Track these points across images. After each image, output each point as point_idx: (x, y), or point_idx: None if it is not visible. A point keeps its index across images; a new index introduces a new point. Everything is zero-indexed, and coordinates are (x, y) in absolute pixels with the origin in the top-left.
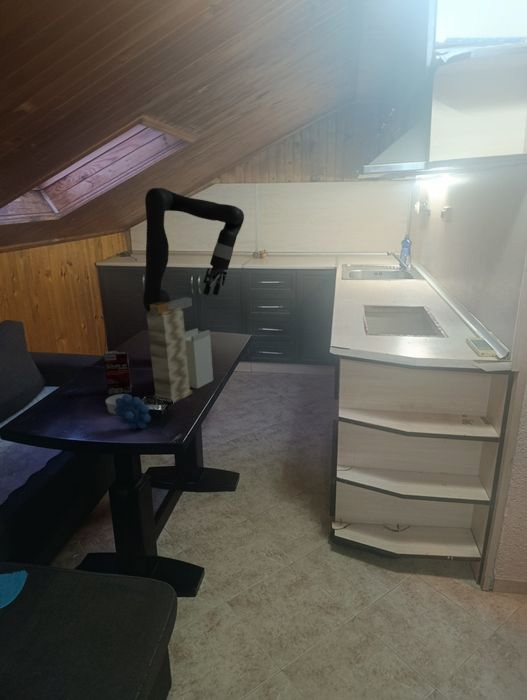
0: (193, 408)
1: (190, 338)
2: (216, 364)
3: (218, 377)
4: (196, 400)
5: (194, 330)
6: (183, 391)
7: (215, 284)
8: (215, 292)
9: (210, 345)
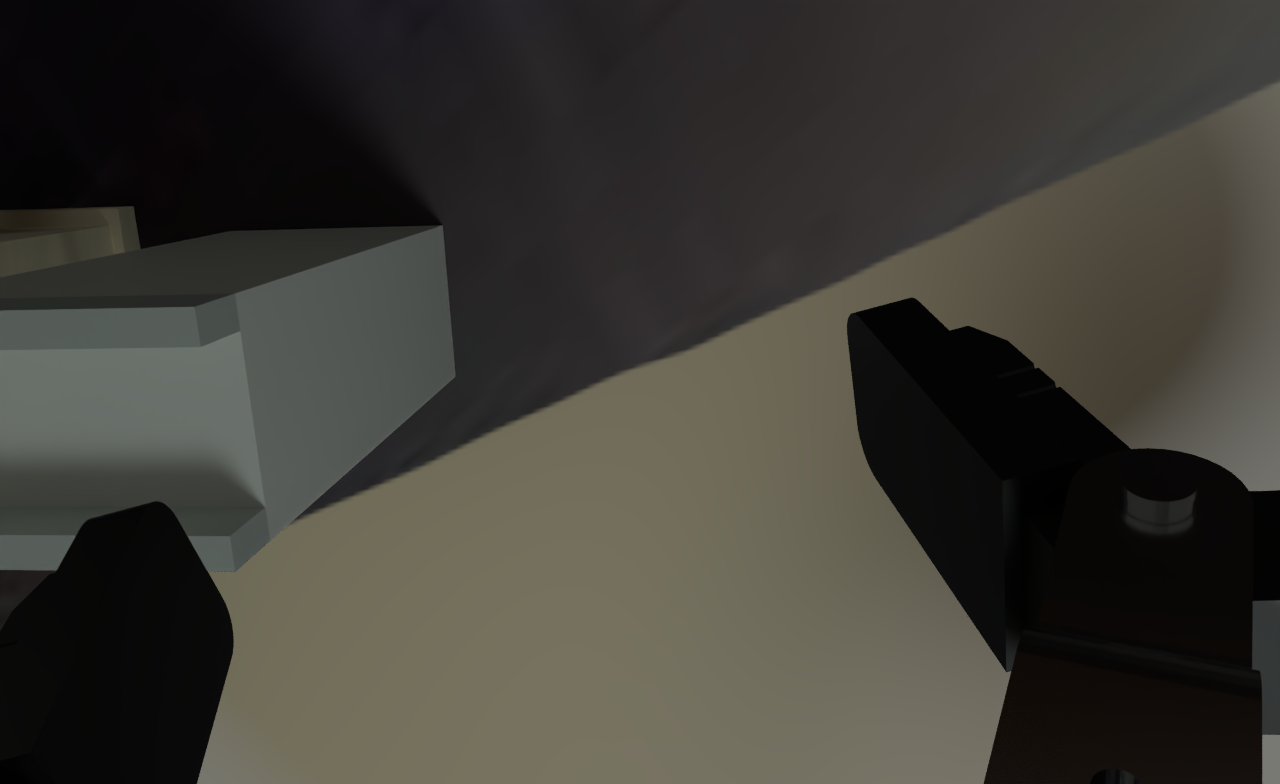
0: (4, 577)
1: (6, 404)
2: (809, 127)
3: (531, 374)
4: None
5: (126, 345)
6: None
7: (1068, 493)
8: (884, 428)
9: (322, 488)
